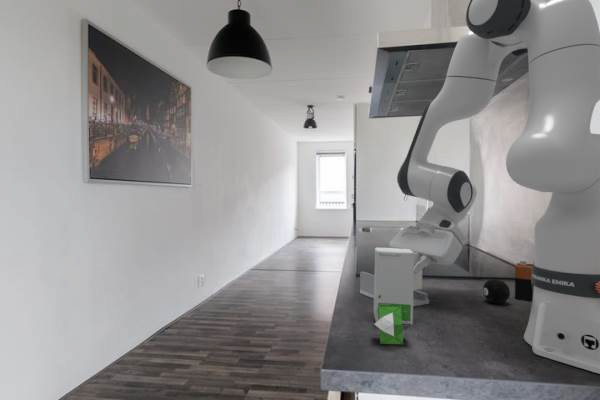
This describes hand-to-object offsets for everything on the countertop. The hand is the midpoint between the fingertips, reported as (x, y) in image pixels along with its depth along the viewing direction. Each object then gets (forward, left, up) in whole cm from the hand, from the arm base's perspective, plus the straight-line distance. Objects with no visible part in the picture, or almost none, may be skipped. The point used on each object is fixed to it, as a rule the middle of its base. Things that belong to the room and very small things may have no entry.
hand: (405, 269), depth 93 cm
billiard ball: (-9, -22, -9) cm, 25 cm away
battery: (-11, -33, -9) cm, 36 cm away
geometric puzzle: (-17, +19, -9) cm, 27 cm away
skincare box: (-7, +10, -9) cm, 15 cm away
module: (0, -1, -5) cm, 5 cm away
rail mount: (+6, -1, -9) cm, 11 cm away
